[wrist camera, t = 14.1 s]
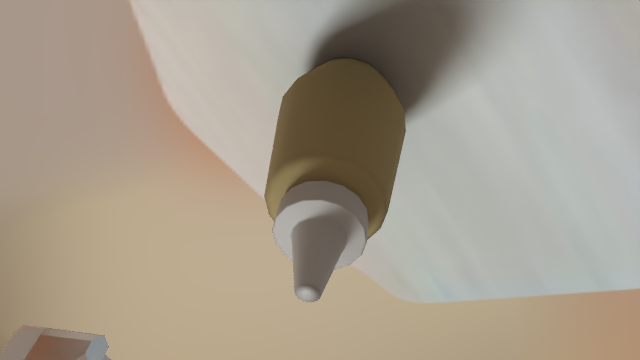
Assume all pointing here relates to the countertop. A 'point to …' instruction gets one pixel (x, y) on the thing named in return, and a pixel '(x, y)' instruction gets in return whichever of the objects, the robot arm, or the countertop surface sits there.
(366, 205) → the squeeze bottle
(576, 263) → the countertop surface
